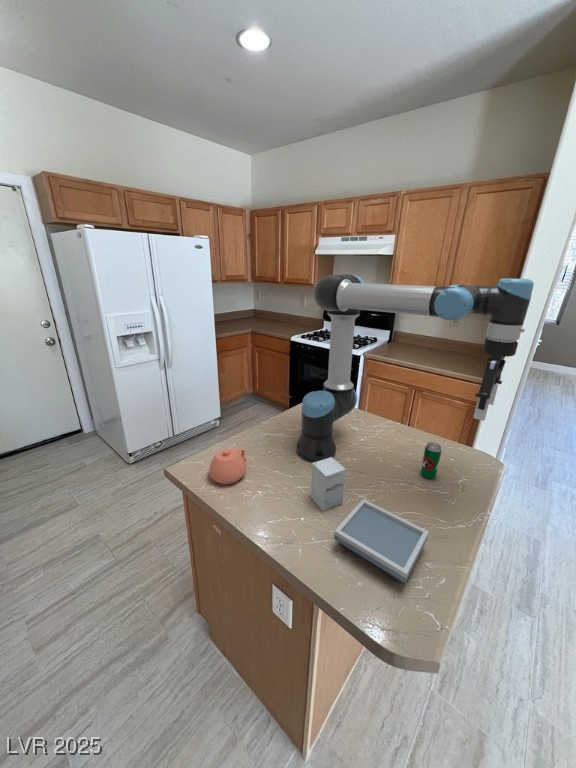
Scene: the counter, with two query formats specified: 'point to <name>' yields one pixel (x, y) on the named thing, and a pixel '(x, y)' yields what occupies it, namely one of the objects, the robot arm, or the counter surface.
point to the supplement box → (327, 483)
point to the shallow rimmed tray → (382, 539)
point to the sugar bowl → (228, 466)
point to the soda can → (431, 460)
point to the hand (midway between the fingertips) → (483, 411)
